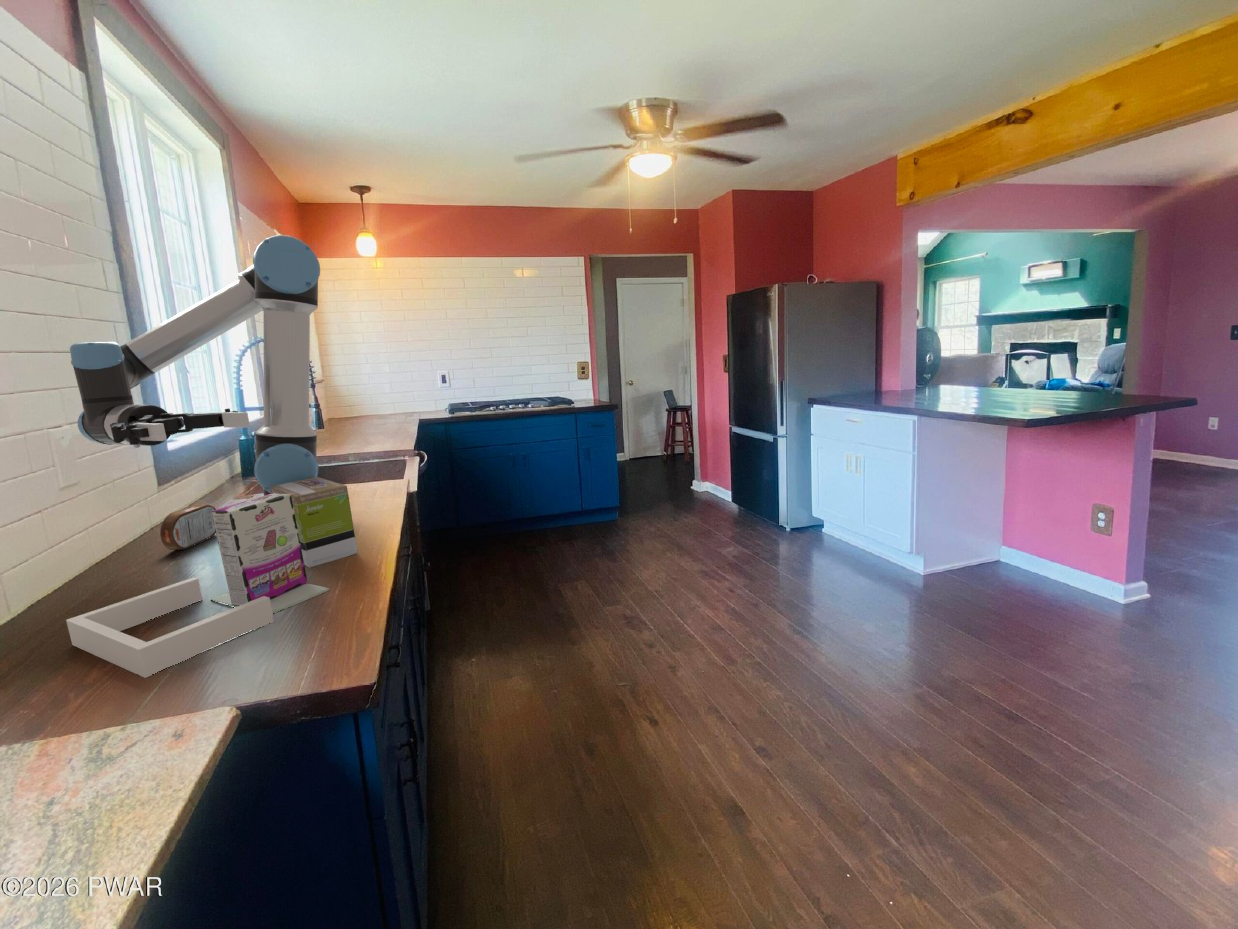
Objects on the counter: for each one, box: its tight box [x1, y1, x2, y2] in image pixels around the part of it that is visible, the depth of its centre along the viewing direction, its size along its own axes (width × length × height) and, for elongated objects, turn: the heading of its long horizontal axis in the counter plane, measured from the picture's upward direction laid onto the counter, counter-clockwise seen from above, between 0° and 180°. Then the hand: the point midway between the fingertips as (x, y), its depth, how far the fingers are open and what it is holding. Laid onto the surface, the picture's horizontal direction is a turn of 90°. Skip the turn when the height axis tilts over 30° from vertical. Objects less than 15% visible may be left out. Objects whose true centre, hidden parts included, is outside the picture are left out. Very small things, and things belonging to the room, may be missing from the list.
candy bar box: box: [211, 493, 308, 606], centre depth 100 cm, size 11×5×16 cm, turn 158°
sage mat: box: [210, 582, 330, 614], centre depth 102 cm, size 11×16×1 cm
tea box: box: [270, 476, 358, 569], centre depth 121 cm, size 15×10×15 cm
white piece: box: [65, 577, 275, 679], centre depth 89 cm, size 17×22×4 cm
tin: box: [159, 503, 217, 551], centre depth 134 cm, size 15×3×8 cm, turn 178°
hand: (207, 425), depth 101 cm, fingers open, 13 cm apart
